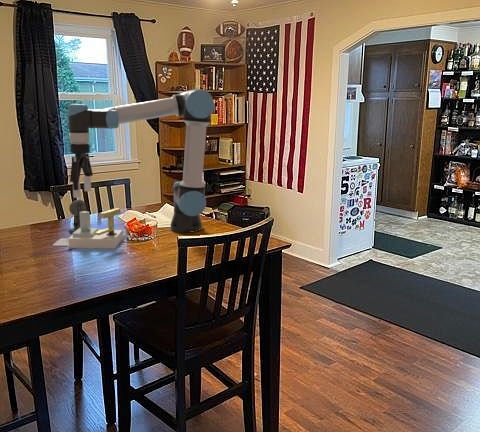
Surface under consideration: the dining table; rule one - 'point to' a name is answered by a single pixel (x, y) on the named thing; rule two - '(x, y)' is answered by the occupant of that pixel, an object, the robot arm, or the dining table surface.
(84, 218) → the cover
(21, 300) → the dining table surface
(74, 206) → the figurine
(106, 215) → the key
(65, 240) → the pad
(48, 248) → the dining table surface
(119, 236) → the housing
